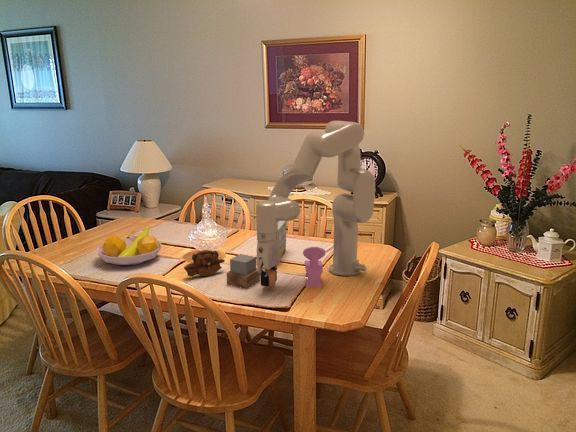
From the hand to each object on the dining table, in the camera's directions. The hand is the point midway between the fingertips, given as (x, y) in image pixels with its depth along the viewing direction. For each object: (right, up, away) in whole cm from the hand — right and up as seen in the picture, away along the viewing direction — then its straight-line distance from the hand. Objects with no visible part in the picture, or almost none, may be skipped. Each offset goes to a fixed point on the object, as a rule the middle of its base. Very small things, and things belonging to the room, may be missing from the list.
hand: (268, 282), depth 175 cm
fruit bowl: (-60, +6, +31) cm, 67 cm away
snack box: (+2, +6, +33) cm, 34 cm away
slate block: (-10, +4, +5) cm, 12 cm away
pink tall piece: (+17, -1, +7) cm, 18 cm away
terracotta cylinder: (0, -1, 0) cm, 1 cm away
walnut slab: (-10, -1, +6) cm, 12 cm away
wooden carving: (-25, +1, +13) cm, 28 cm away
